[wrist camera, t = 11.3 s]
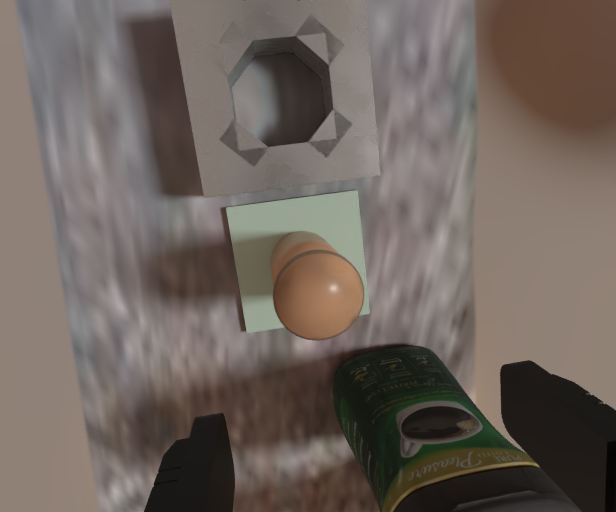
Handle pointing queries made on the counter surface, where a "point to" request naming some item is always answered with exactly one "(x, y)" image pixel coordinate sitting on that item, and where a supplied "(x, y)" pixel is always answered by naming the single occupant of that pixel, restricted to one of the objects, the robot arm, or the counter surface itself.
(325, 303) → the tan rounded cylinder
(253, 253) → the mat
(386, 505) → the coffee jar
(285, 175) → the housing
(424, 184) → the counter surface
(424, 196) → the counter surface
